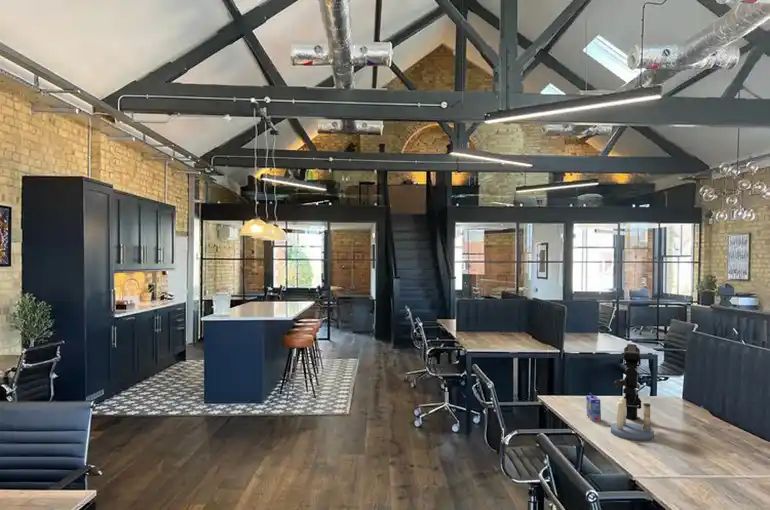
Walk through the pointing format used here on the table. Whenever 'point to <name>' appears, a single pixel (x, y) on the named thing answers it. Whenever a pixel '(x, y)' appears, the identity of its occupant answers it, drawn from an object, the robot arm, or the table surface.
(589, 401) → the ink cartridge box
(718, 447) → the table surface
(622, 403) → the round peg stand
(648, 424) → the hinged leg
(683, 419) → the table surface
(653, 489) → the table surface
